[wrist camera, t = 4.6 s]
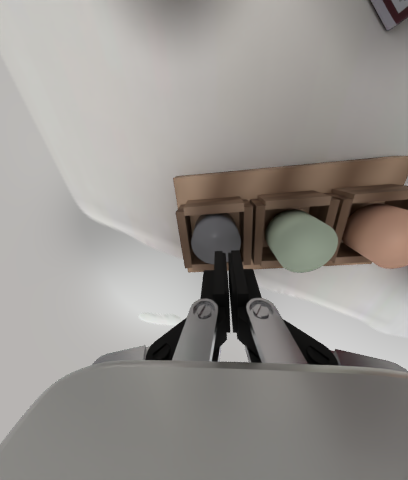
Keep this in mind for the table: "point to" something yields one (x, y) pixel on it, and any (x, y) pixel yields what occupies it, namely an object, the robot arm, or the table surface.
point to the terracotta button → (379, 234)
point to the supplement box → (391, 11)
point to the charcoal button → (215, 236)
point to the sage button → (300, 241)
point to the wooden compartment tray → (288, 202)
